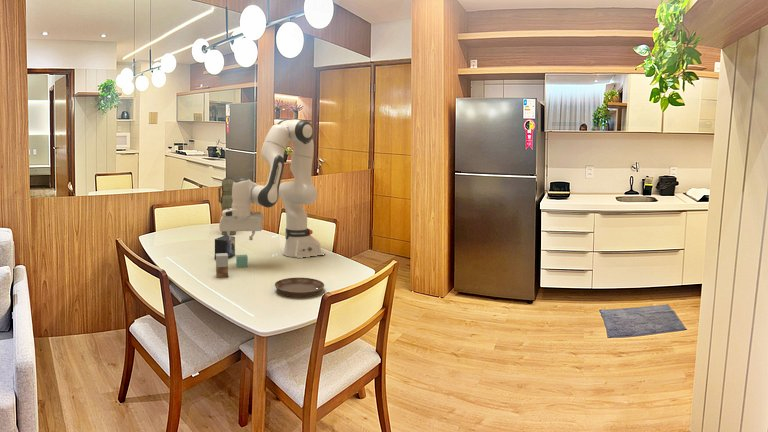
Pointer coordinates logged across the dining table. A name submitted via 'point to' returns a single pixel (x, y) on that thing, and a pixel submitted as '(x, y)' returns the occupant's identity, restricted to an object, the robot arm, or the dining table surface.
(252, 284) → the dining table surface
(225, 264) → the grey mid block
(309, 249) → the robot arm
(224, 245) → the small box
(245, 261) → the teal cube
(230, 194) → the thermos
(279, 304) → the dining table surface
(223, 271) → the walnut base block
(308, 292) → the plant saucer
